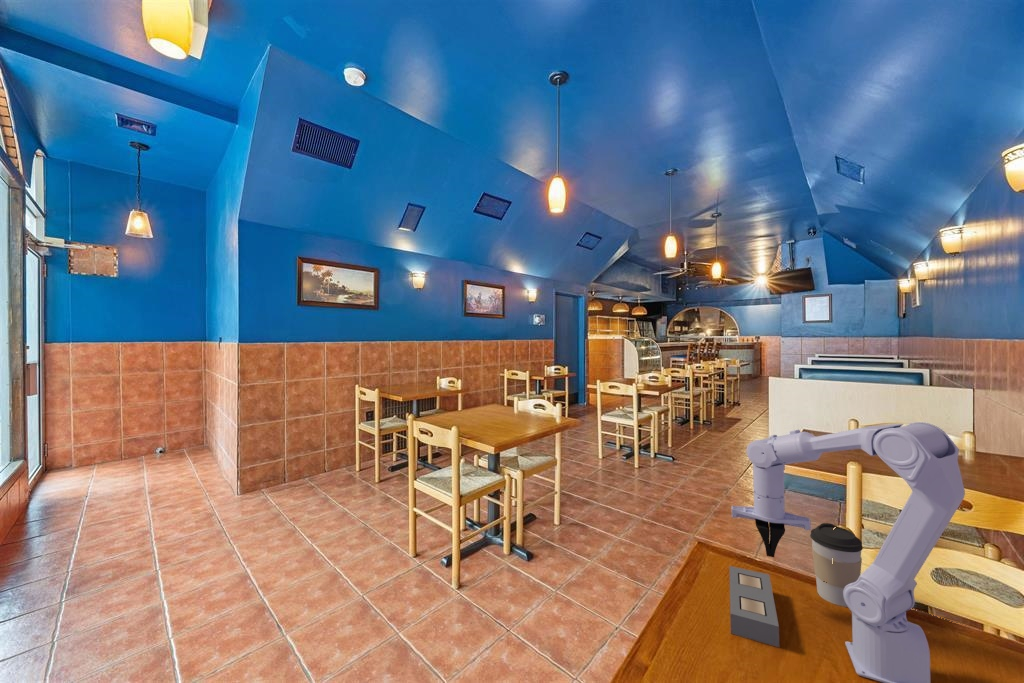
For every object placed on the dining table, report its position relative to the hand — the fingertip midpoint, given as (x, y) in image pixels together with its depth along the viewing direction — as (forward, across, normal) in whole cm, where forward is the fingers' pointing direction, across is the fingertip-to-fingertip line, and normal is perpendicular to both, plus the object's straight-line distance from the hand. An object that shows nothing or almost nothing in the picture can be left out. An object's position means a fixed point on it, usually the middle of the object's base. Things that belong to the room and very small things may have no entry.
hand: (770, 554), depth 87 cm
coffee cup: (+11, -13, -8) cm, 19 cm away
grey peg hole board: (+10, +4, +6) cm, 12 cm away
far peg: (+10, +4, +1) cm, 11 cm away
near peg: (+10, +4, +10) cm, 15 cm away
